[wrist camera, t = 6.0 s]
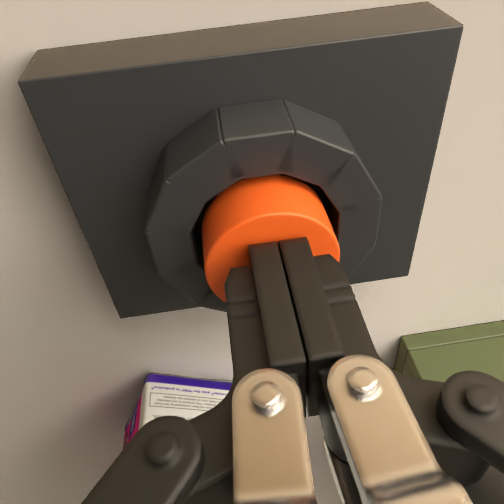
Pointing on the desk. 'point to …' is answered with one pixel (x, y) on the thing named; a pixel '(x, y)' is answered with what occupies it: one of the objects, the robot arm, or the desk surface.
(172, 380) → the supplement box
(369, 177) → the control block
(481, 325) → the green box
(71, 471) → the desk surface
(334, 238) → the release button
